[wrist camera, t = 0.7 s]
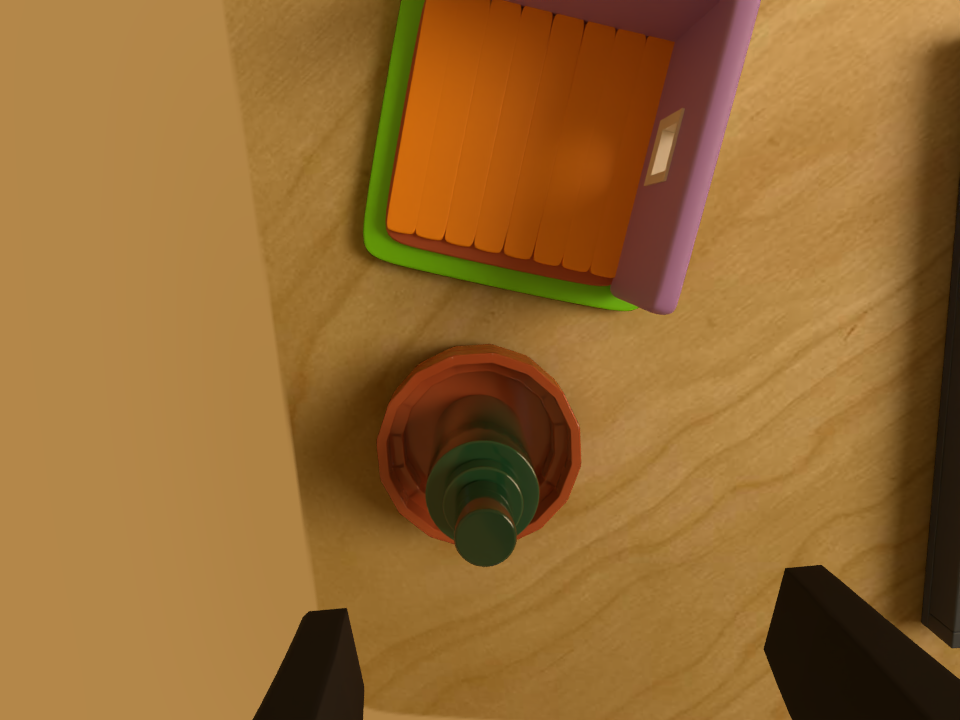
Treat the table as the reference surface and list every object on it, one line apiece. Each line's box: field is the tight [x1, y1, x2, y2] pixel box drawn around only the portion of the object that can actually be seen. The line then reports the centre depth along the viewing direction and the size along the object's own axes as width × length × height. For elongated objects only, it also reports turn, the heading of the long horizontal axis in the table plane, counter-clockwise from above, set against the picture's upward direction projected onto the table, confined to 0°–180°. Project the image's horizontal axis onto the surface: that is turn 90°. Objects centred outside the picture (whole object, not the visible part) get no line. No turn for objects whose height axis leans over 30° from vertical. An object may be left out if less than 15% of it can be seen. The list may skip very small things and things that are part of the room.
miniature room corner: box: [363, 0, 761, 315], centre depth 21 cm, size 12×12×7 cm
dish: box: [376, 344, 581, 544], centre depth 26 cm, size 8×8×2 cm
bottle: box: [425, 395, 540, 567], centre depth 22 cm, size 4×4×9 cm
